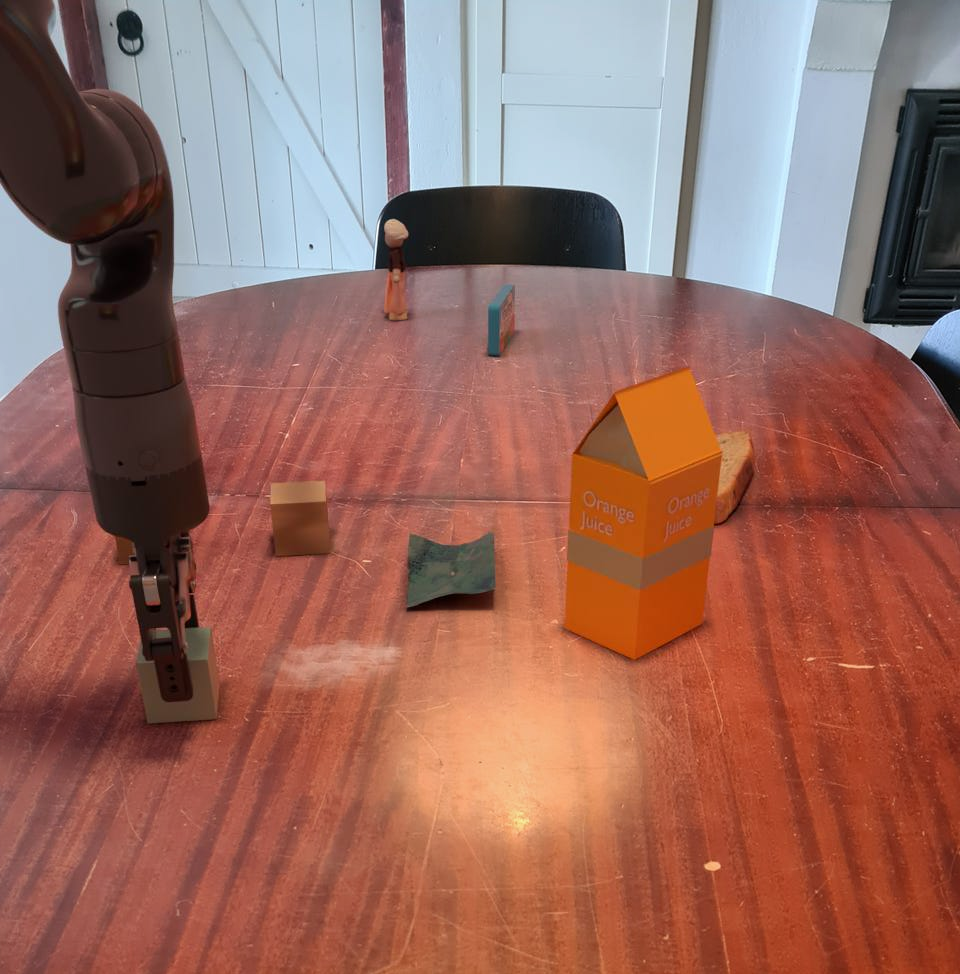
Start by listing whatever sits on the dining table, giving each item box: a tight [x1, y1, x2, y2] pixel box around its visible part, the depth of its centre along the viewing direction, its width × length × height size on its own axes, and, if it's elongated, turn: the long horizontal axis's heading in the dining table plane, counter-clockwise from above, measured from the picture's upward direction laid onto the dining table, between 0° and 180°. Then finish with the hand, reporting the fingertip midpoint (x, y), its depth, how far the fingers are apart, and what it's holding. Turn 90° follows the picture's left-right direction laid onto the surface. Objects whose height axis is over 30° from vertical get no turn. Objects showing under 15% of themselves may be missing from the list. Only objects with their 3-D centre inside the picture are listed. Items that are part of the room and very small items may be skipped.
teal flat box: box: [487, 283, 516, 357], centre depth 164 cm, size 12×2×6 cm, turn 169°
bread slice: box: [714, 429, 757, 525], centre depth 126 cm, size 18×18×4 cm
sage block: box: [135, 626, 221, 725], centre depth 91 cm, size 5×5×5 cm
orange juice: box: [564, 365, 723, 661], centre depth 96 cm, size 8×9×20 cm
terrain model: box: [406, 531, 497, 608], centre depth 109 cm, size 13×8×2 cm, turn 0°
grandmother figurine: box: [383, 218, 409, 321], centre depth 173 cm, size 8×4×13 cm, turn 10°
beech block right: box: [269, 480, 332, 557], centre depth 114 cm, size 5×5×5 cm
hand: (182, 669), depth 91 cm, fingers open, 8 cm apart
